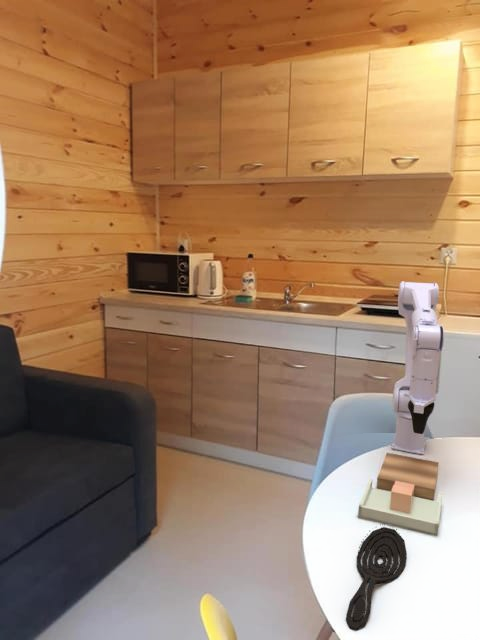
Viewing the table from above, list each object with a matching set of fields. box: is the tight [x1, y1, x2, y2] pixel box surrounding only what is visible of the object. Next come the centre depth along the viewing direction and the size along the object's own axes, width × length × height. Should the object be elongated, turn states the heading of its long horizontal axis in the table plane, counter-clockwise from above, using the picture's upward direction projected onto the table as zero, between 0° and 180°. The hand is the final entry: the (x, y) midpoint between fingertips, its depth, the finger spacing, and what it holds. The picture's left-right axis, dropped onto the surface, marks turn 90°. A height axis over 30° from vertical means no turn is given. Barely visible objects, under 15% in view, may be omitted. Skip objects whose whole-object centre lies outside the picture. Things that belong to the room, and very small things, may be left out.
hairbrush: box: [345, 523, 408, 632], centre depth 91 cm, size 8×4×25 cm
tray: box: [357, 478, 443, 537], centre depth 112 cm, size 13×15×2 cm
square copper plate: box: [376, 452, 439, 501], centre depth 124 cm, size 14×12×3 cm
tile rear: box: [394, 481, 415, 502], centre depth 116 cm, size 4×4×3 cm
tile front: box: [390, 485, 413, 514], centre depth 112 cm, size 4×4×3 cm
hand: (418, 432), depth 127 cm, fingers closed
